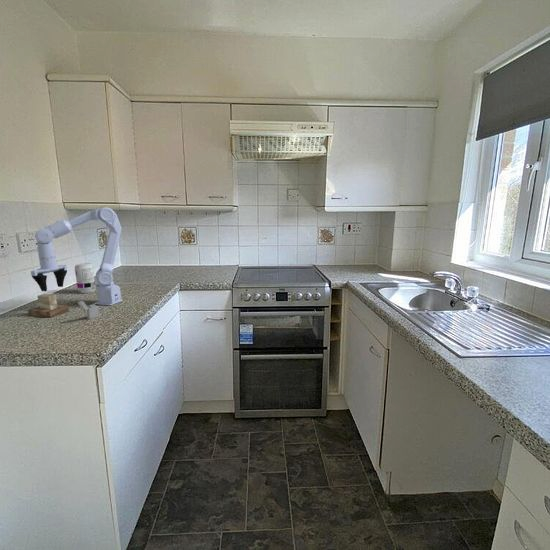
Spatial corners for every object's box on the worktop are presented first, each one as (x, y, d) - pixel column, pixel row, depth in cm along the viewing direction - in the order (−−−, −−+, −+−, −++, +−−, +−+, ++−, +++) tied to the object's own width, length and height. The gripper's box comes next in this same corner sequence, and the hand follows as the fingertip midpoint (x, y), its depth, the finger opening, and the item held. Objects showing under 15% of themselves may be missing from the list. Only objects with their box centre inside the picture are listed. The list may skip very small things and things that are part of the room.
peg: (47, 311, 133) (44, 293, 131) (58, 312, 132) (55, 294, 130) (40, 313, 130) (37, 295, 129) (51, 315, 129) (48, 296, 127)
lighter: (96, 315, 128) (94, 296, 126) (99, 316, 127) (97, 297, 126) (80, 321, 122) (77, 301, 120) (83, 321, 121) (80, 302, 119)
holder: (69, 311, 133) (68, 305, 133) (50, 317, 125) (49, 312, 125) (48, 309, 136) (47, 304, 136) (29, 315, 128) (28, 309, 128)
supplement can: (75, 294, 161) (71, 265, 158) (81, 290, 168) (77, 263, 165) (93, 293, 163) (89, 265, 160) (97, 289, 171) (94, 262, 167)
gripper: (55, 254, 138) (60, 284, 141) (22, 260, 124) (28, 292, 127) (68, 255, 136) (72, 285, 139) (36, 260, 123) (42, 293, 125)
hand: (52, 288), depth 133 cm, fingers open, 7 cm apart
